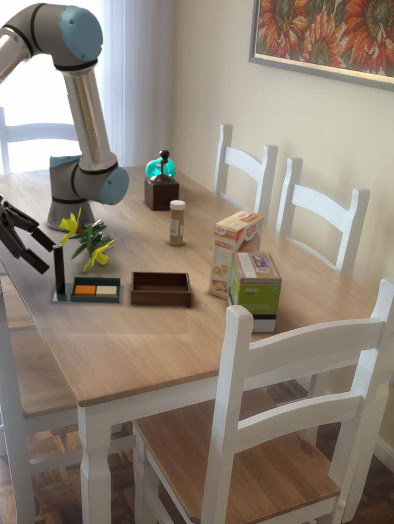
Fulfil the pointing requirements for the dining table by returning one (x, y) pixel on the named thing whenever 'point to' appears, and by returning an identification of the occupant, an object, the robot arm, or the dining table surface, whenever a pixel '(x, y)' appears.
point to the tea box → (255, 288)
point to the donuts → (155, 170)
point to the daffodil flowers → (87, 239)
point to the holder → (160, 289)
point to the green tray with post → (79, 283)
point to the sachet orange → (85, 290)
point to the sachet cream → (106, 291)
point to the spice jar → (176, 222)
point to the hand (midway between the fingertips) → (50, 259)
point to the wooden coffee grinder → (161, 187)
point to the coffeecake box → (232, 247)
